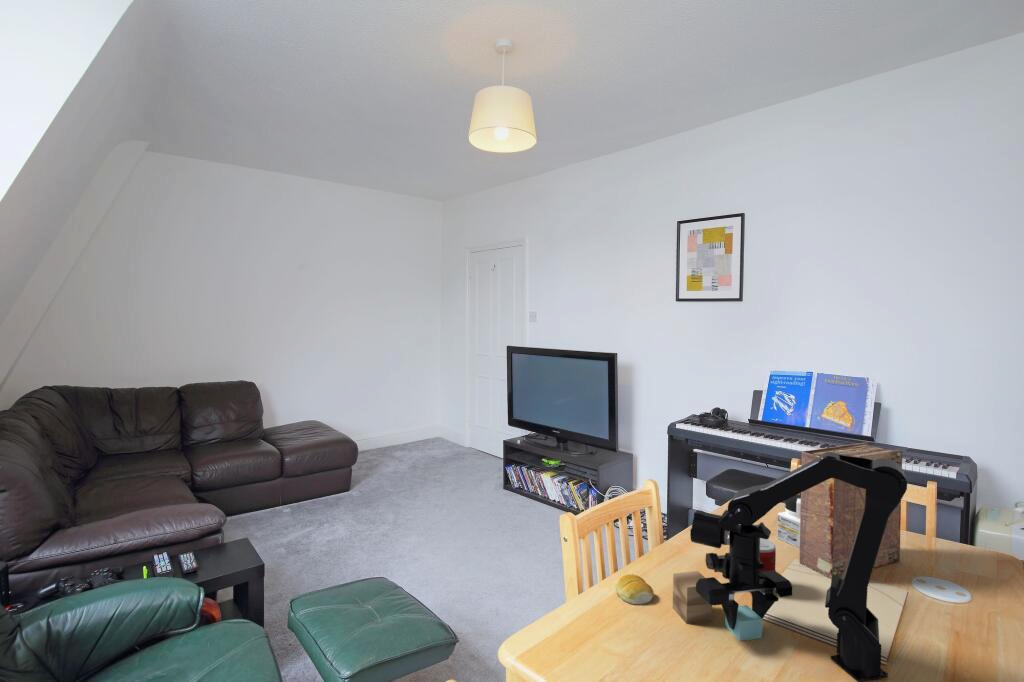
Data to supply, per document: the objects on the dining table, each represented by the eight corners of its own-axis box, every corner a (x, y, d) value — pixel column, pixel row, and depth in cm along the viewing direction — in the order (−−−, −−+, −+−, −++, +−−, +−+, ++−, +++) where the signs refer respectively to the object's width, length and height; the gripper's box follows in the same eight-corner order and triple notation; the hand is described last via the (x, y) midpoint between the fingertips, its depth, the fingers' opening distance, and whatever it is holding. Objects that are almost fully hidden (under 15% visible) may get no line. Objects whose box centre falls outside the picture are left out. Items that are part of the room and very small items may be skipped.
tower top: (712, 602, 110) (712, 584, 110) (686, 605, 109) (687, 587, 109) (697, 588, 116) (697, 570, 116) (673, 590, 115) (673, 573, 115)
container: (776, 538, 150) (777, 494, 149) (794, 533, 153) (795, 490, 153) (801, 549, 143) (801, 503, 142) (819, 543, 146) (820, 499, 146)
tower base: (712, 621, 110) (712, 602, 110) (686, 624, 109) (686, 606, 109) (697, 605, 116) (697, 588, 116) (672, 608, 115) (672, 591, 115)
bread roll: (640, 583, 126) (640, 567, 126) (658, 602, 117) (658, 586, 117) (609, 587, 124) (609, 571, 124) (625, 607, 116) (625, 590, 115)
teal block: (762, 637, 104) (762, 618, 104) (739, 640, 103) (740, 621, 103) (746, 623, 109) (746, 605, 109) (725, 626, 108) (725, 607, 108)
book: (865, 547, 144) (868, 441, 142) (900, 561, 135) (903, 449, 134) (799, 563, 135) (801, 451, 134) (831, 580, 126) (834, 460, 125)
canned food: (779, 597, 119) (780, 551, 118) (742, 594, 120) (743, 548, 120) (769, 580, 126) (770, 537, 126) (735, 577, 128) (735, 534, 127)
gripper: (759, 533, 115) (757, 600, 116) (682, 540, 111) (682, 610, 112) (795, 556, 104) (793, 630, 105) (711, 565, 100) (710, 642, 101)
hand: (743, 627), depth 106 cm, fingers closed on teal block, 5 cm apart
